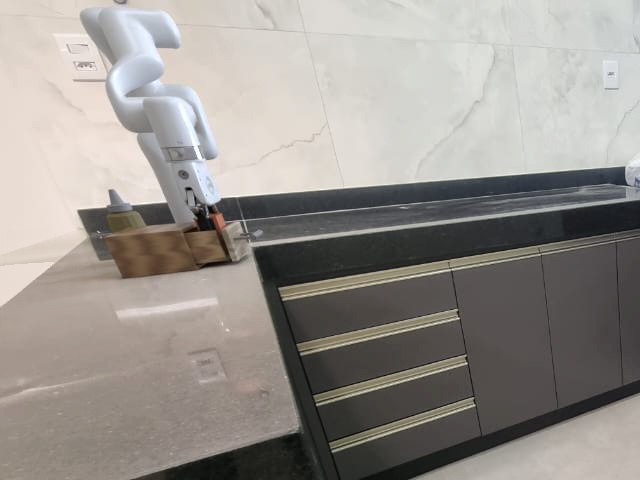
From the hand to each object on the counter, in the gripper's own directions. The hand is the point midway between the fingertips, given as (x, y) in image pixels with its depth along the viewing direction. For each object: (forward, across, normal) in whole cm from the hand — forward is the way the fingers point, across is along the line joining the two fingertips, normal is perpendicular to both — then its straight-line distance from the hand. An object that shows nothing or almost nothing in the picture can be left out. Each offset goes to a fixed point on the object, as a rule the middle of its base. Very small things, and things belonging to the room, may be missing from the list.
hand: (214, 232), depth 131 cm
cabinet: (+7, 0, +12) cm, 14 cm away
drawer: (+6, 0, 0) cm, 6 cm away
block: (0, 0, 0) cm, 0 cm away
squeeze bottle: (+8, +15, +22) cm, 28 cm away
